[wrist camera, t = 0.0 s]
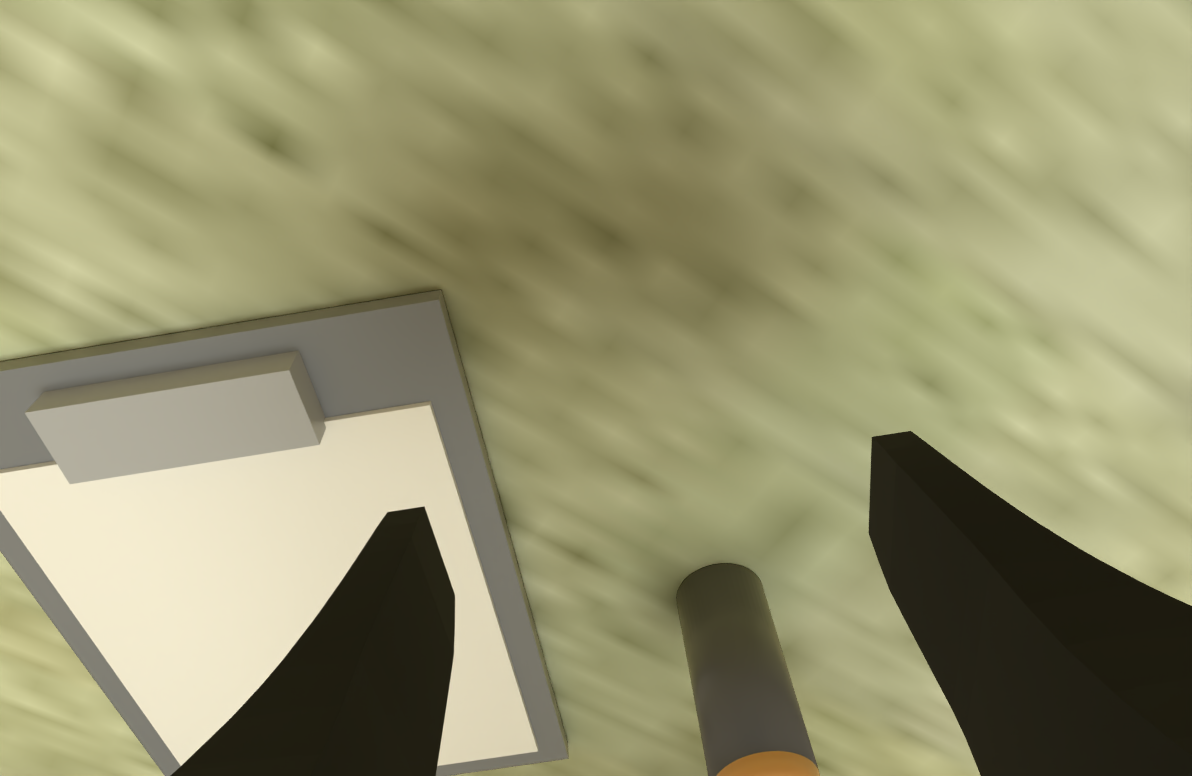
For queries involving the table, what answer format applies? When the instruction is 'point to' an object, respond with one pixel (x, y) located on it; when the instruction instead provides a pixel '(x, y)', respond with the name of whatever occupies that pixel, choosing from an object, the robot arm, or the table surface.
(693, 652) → the marker
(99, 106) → the table surface
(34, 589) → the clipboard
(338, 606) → the robot arm
